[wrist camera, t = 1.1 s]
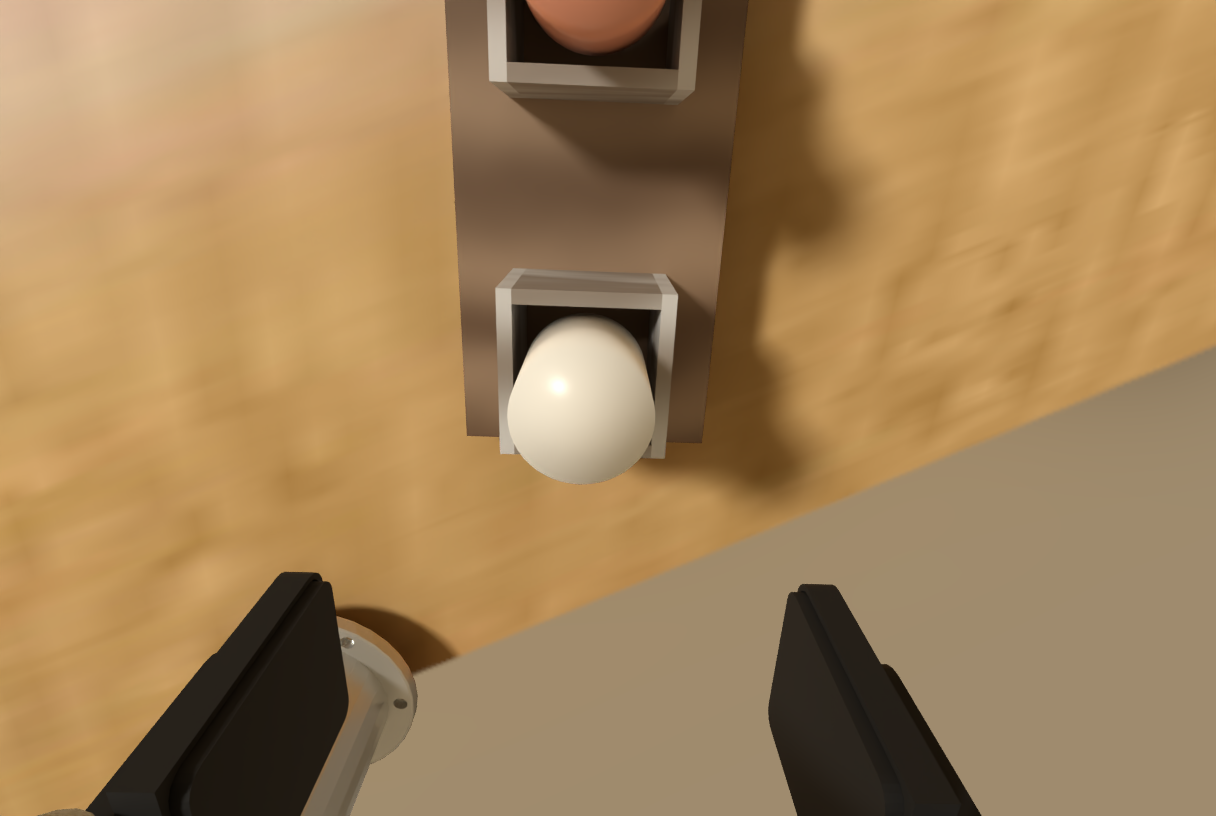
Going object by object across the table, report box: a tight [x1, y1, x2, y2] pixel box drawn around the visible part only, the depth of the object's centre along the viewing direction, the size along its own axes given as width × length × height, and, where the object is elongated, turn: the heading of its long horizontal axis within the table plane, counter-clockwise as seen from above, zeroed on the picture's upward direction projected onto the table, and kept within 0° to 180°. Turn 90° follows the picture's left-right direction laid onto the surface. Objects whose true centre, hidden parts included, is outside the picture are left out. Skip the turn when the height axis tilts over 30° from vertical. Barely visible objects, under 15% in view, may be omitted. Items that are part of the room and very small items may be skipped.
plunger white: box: [507, 313, 655, 484], centre depth 23 cm, size 5×5×5 cm
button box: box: [445, 0, 748, 459], centre depth 26 cm, size 24×12×9 cm, turn 178°
